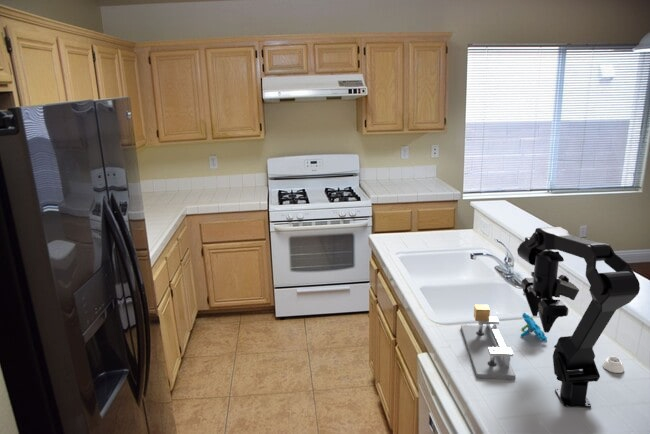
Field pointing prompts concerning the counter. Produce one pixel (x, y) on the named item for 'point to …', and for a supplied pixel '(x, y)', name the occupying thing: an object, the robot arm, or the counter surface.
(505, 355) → the divider frame
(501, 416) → the counter surface
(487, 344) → the bolt plate
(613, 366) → the white jar
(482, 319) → the sliding leg
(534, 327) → the gear
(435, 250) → the counter surface
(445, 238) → the counter surface
